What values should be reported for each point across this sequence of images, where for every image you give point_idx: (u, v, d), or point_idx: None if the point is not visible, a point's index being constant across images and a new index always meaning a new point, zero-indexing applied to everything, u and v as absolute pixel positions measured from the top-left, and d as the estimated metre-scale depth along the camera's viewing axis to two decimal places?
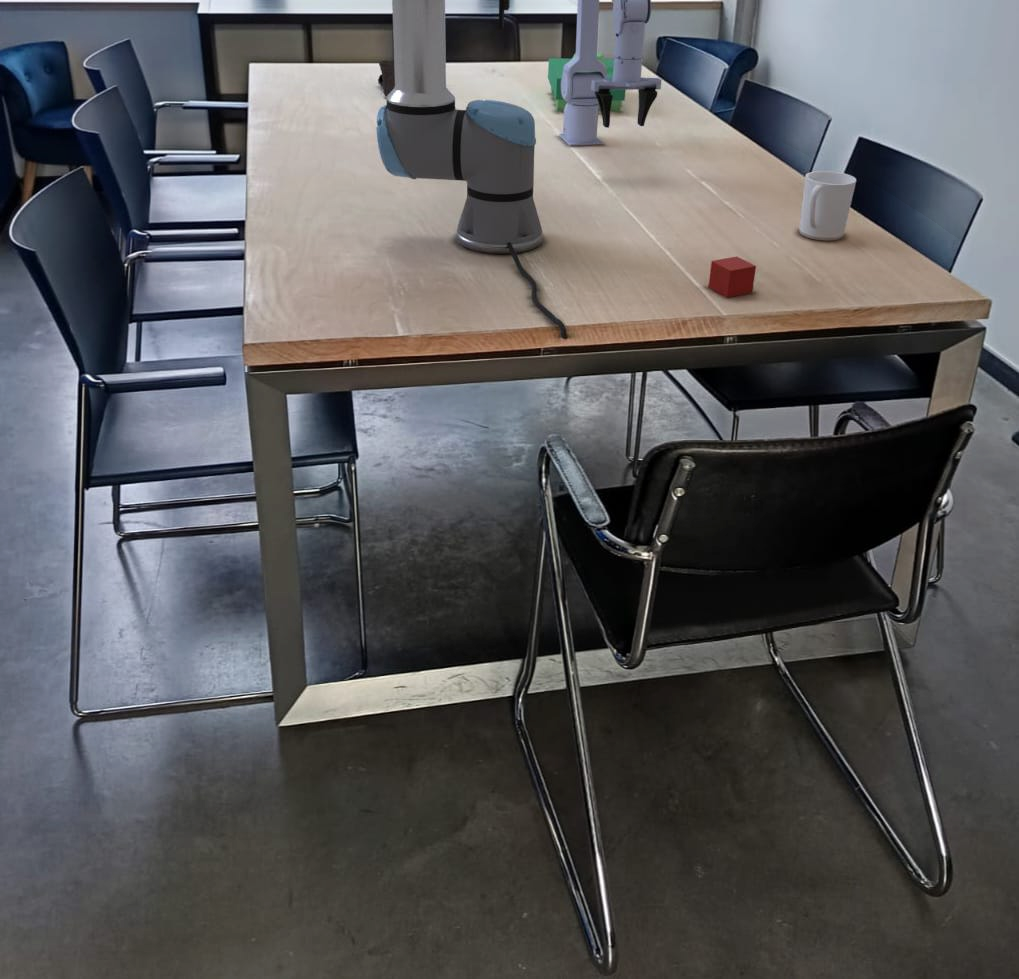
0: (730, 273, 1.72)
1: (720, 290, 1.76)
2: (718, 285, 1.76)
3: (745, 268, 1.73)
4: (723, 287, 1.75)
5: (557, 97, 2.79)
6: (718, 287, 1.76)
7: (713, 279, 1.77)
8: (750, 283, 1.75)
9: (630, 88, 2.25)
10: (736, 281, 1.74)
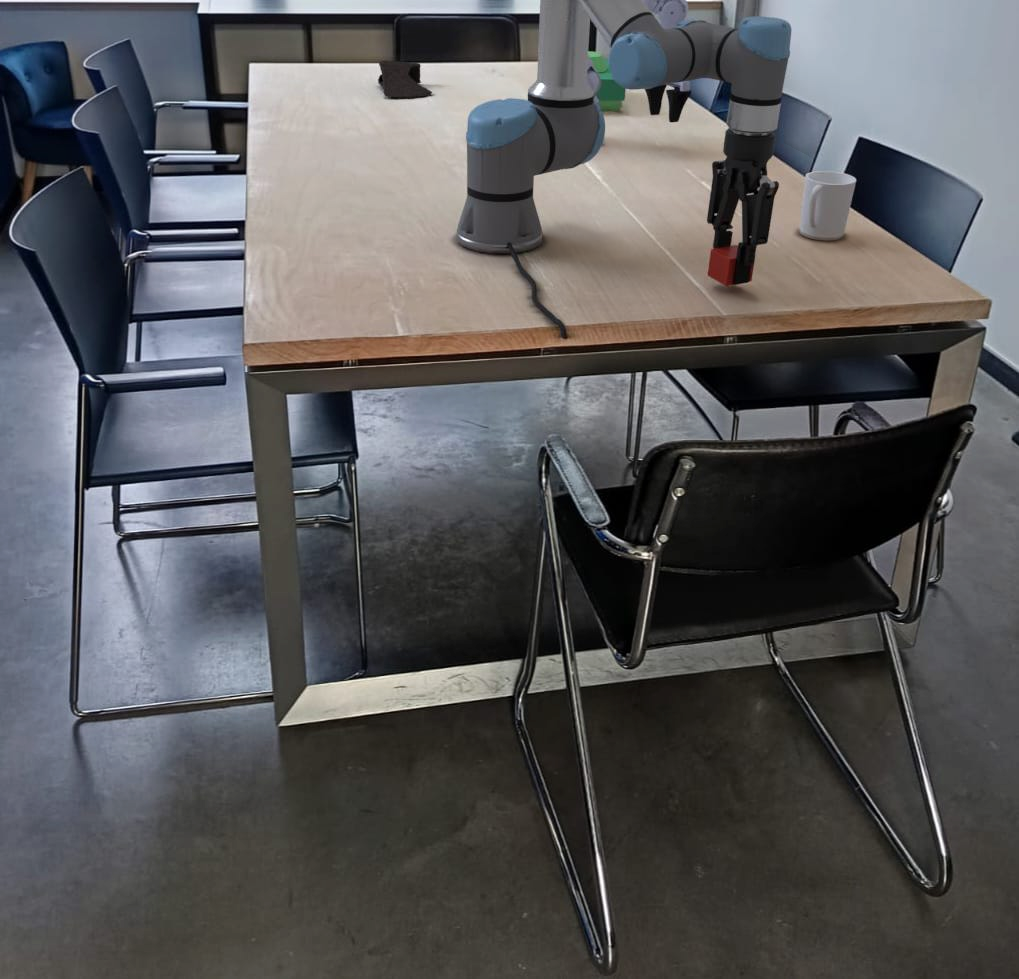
0: (730, 262, 1.72)
1: (719, 278, 1.75)
2: (717, 273, 1.75)
3: None
4: (722, 276, 1.74)
5: None
6: (717, 275, 1.75)
7: (712, 267, 1.76)
8: None
9: None
10: None
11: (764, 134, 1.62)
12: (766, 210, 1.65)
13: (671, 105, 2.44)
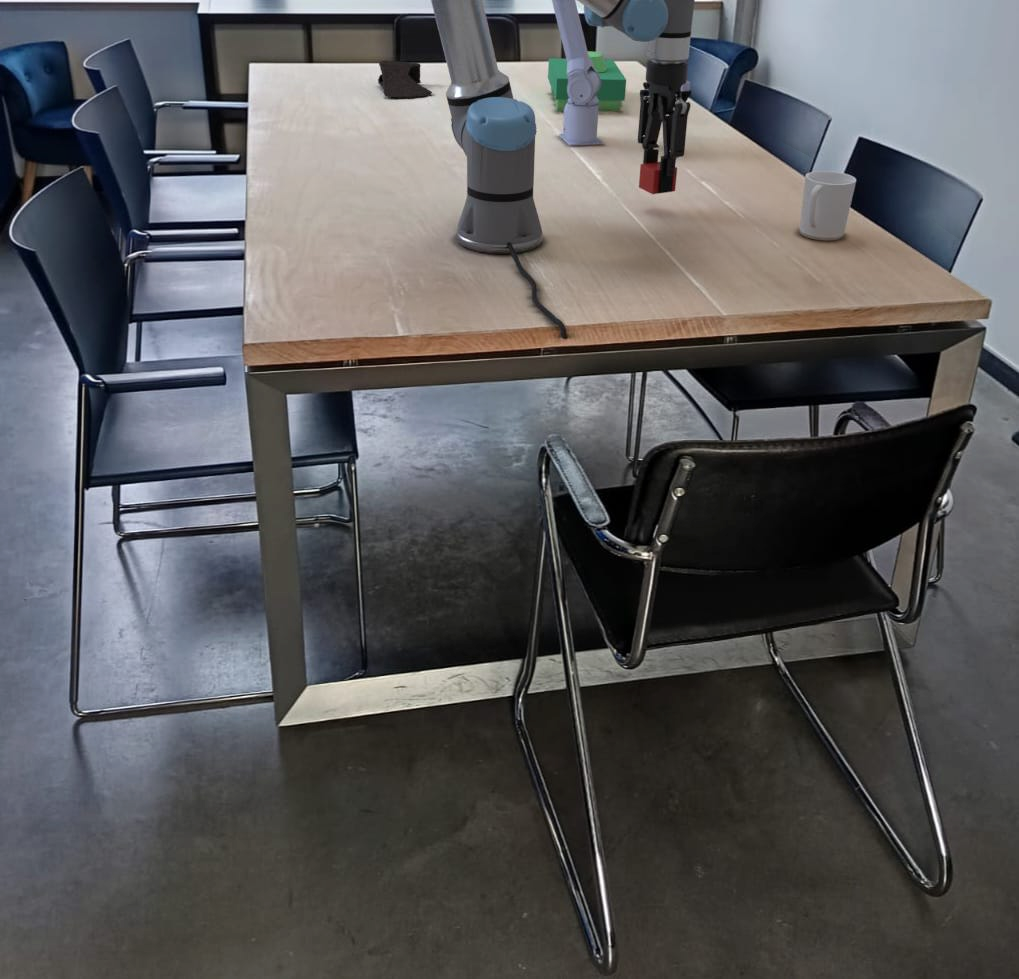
0: (654, 173, 2.06)
1: (647, 188, 2.09)
2: (645, 184, 2.09)
3: None
4: (649, 186, 2.08)
5: (557, 97, 2.79)
6: (646, 186, 2.09)
7: (642, 180, 2.10)
8: (673, 183, 2.08)
9: None
10: None
11: (677, 62, 1.96)
12: (681, 127, 1.99)
13: None
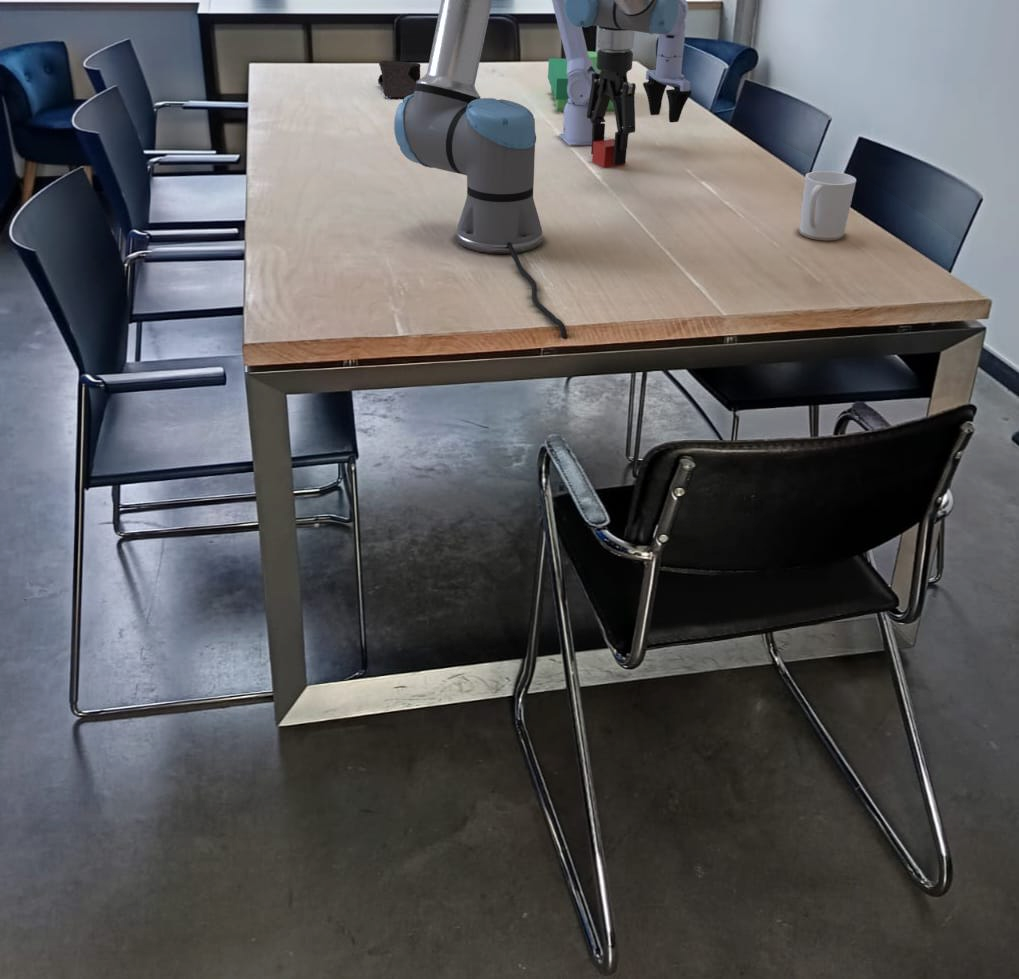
0: (605, 149, 2.36)
1: (599, 163, 2.39)
2: (598, 159, 2.40)
3: None
4: (601, 160, 2.38)
5: (557, 97, 2.79)
6: (598, 161, 2.40)
7: (595, 155, 2.40)
8: None
9: None
10: (610, 155, 2.38)
11: (623, 51, 2.26)
12: (629, 105, 2.29)
13: (671, 105, 2.44)
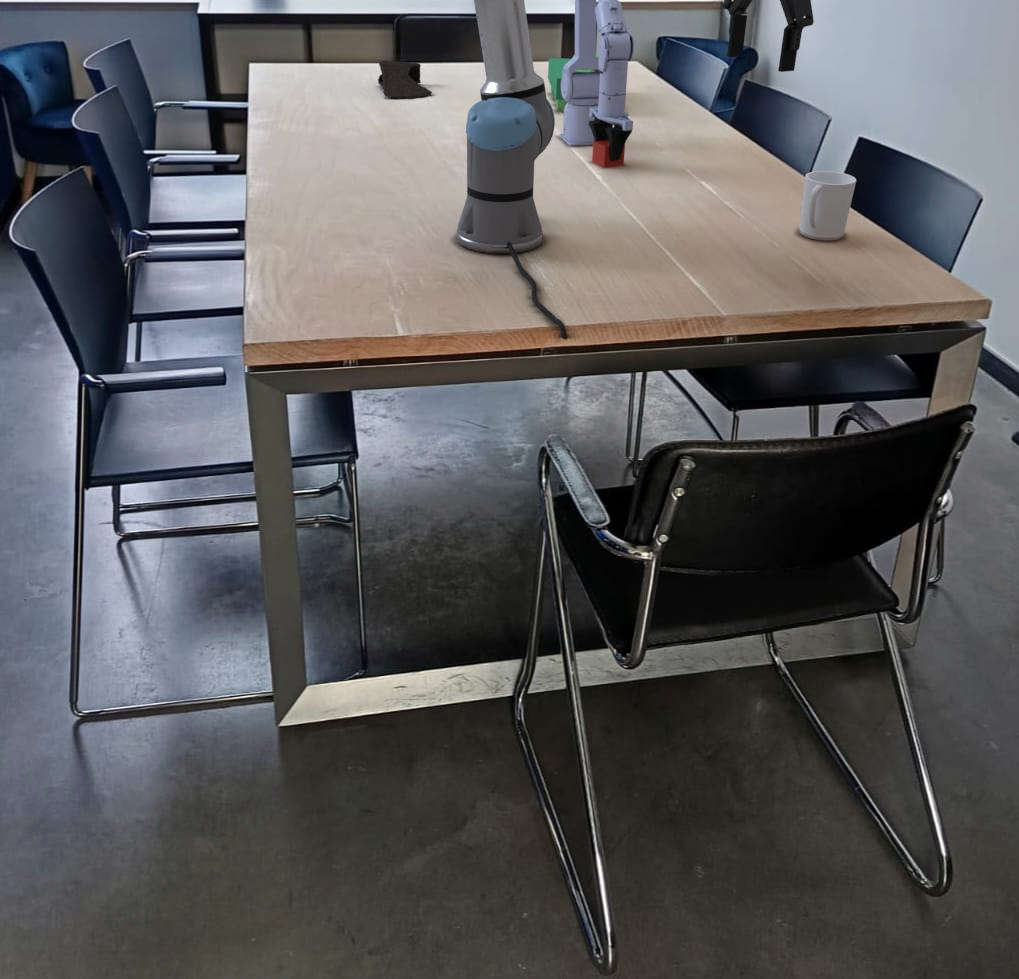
0: (605, 149, 2.36)
1: (599, 163, 2.39)
2: (598, 159, 2.40)
3: None
4: (601, 160, 2.39)
5: (557, 97, 2.79)
6: (598, 160, 2.40)
7: (595, 155, 2.40)
8: (621, 157, 2.39)
9: None
10: None
11: None
12: None
13: (611, 143, 2.35)
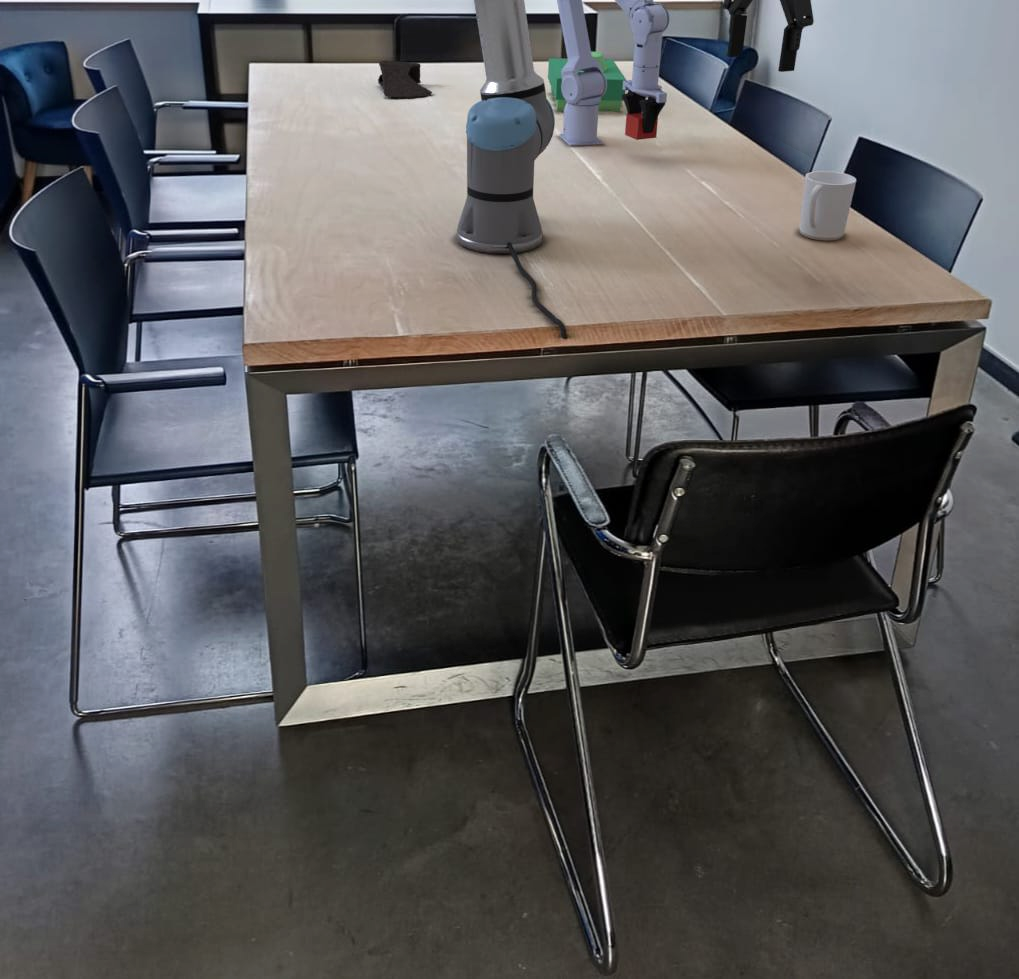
0: (638, 121, 2.39)
1: (632, 135, 2.42)
2: (631, 131, 2.42)
3: None
4: (634, 133, 2.41)
5: (557, 97, 2.79)
6: (631, 133, 2.43)
7: (628, 128, 2.43)
8: (654, 130, 2.42)
9: None
10: None
11: None
12: None
13: (645, 116, 2.38)
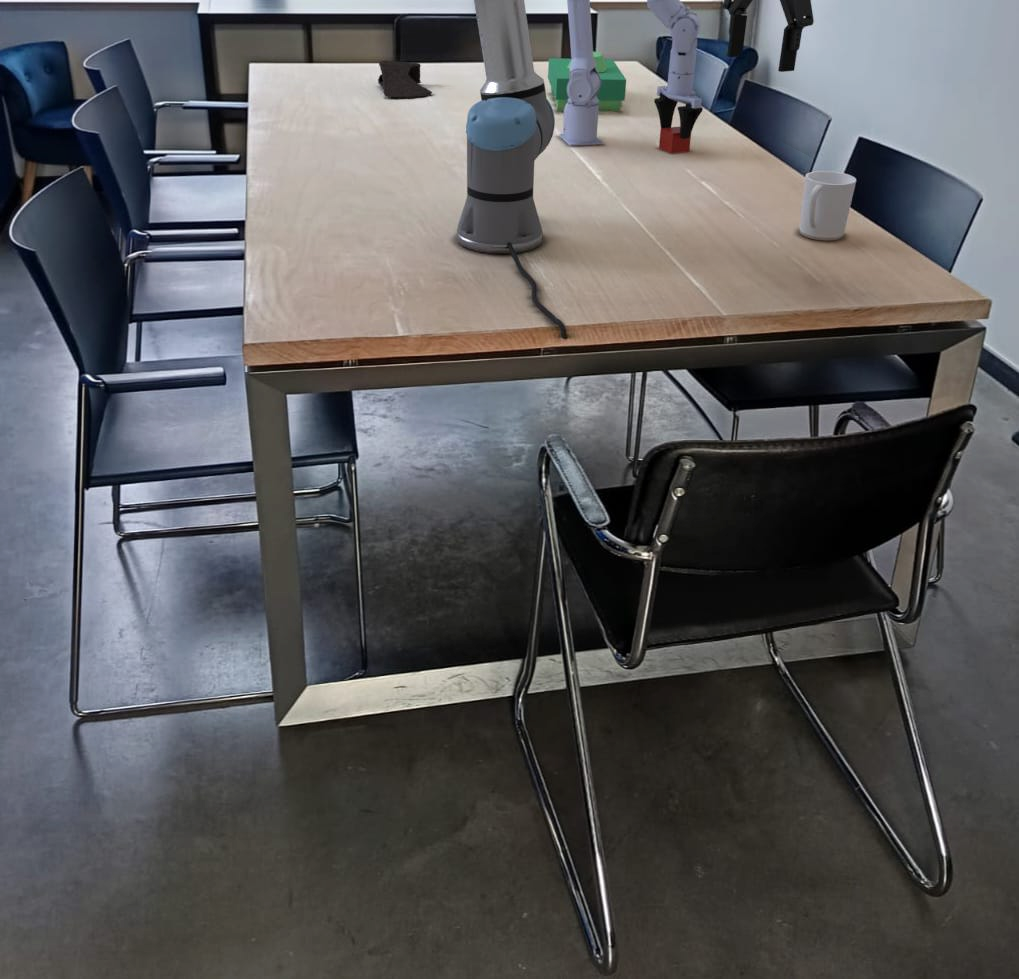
0: (673, 135, 2.48)
1: (666, 149, 2.51)
2: (665, 145, 2.51)
3: None
4: (668, 146, 2.50)
5: (557, 97, 2.79)
6: (665, 147, 2.51)
7: (662, 141, 2.52)
8: (687, 144, 2.51)
9: None
10: (677, 141, 2.49)
11: None
12: None
13: (682, 122, 2.45)
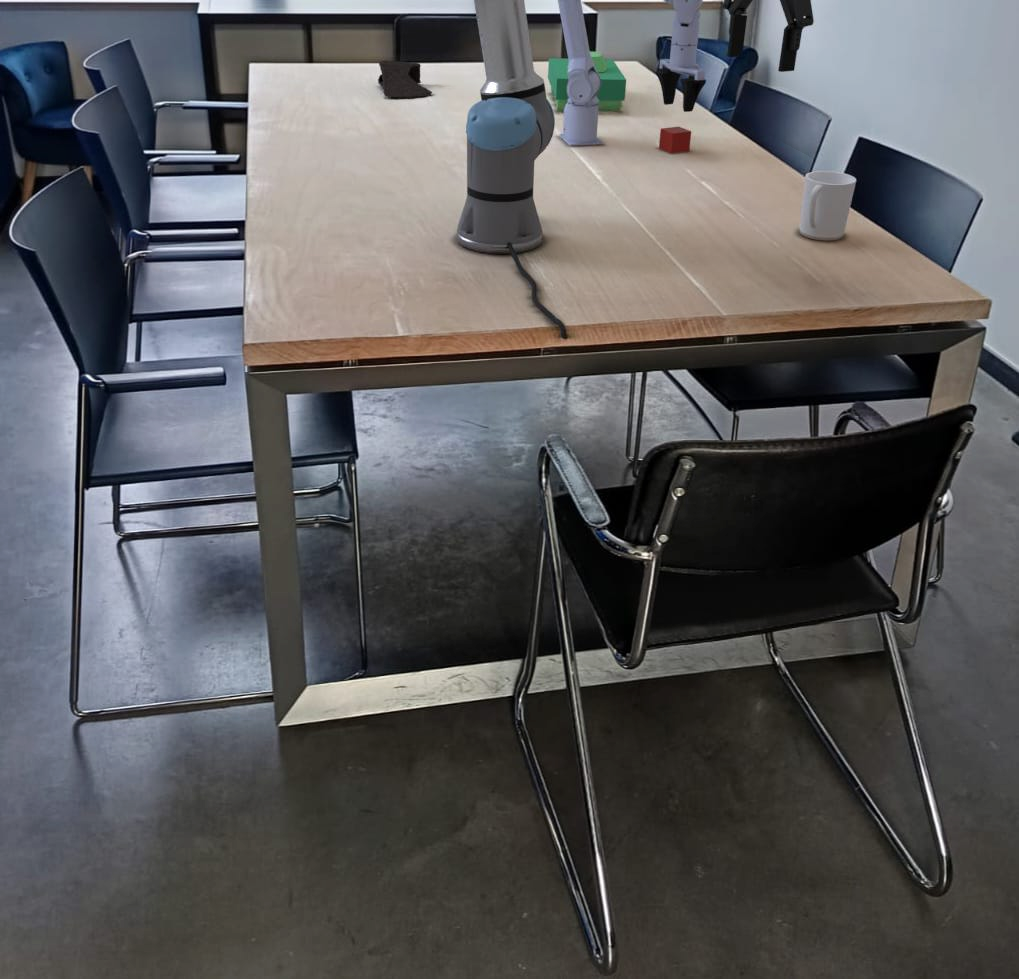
0: (673, 135, 2.48)
1: (666, 149, 2.51)
2: (665, 145, 2.51)
3: (683, 132, 2.49)
4: (668, 146, 2.50)
5: (557, 97, 2.79)
6: (665, 147, 2.51)
7: (662, 141, 2.52)
8: (687, 144, 2.51)
9: None
10: (677, 141, 2.49)
11: None
12: None
13: (685, 94, 2.41)
